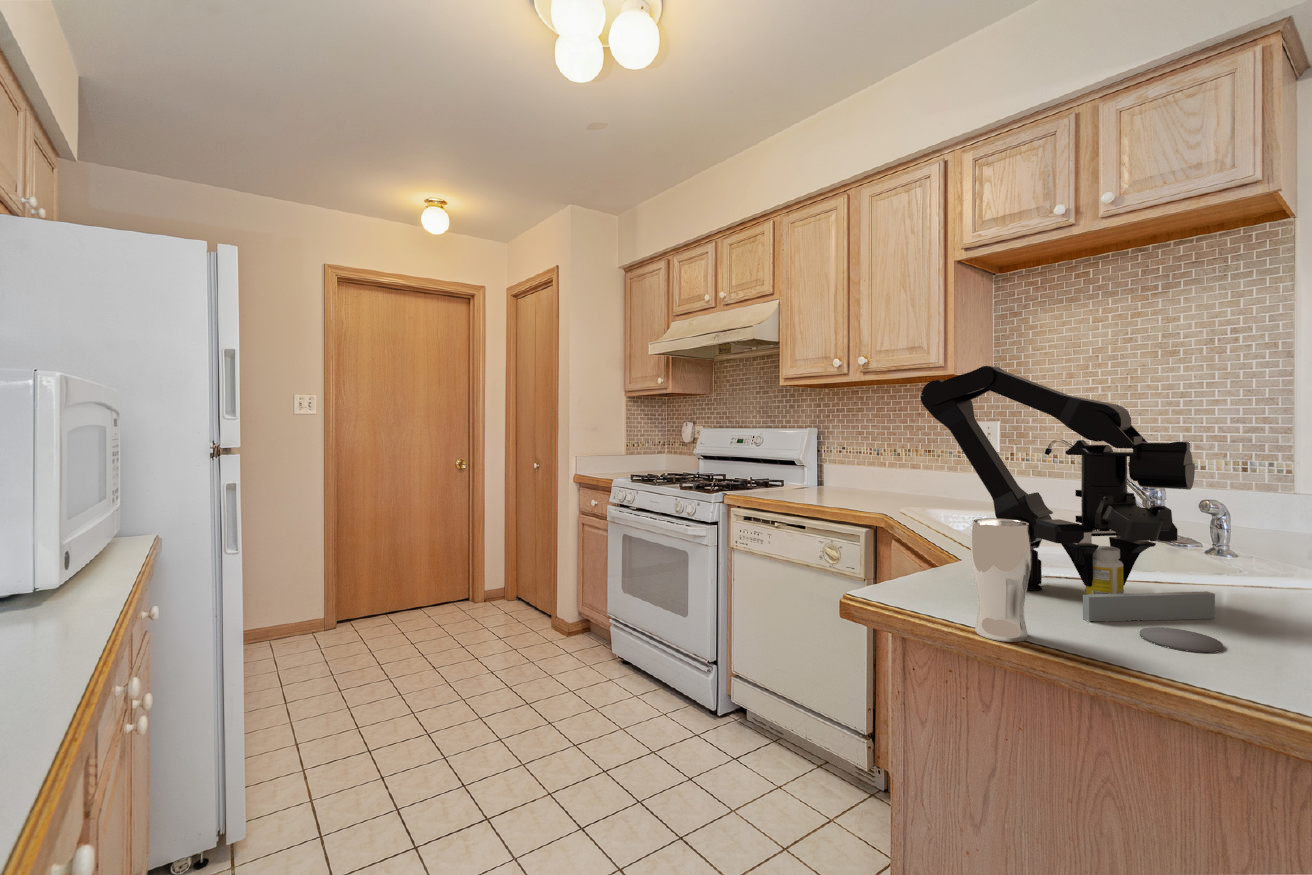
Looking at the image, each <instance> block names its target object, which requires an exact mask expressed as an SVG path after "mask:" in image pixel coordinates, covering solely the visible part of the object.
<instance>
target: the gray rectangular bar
mask: <svg viewBox="0 0 1312 875" xmlns="http://www.w3.org/2000/svg"><path fill="white" fill-rule="evenodd" d="M1215 610H1216V593H1213V592H1210V591H1177V592H1176V591H1173V592H1166V591H1165V592H1136V593H1135V592H1133V593H1124V594H1090V595H1086V594H1082V620H1084V621H1086V620H1088V621H1105V622H1131V620H1137V622H1138V621H1140V620H1142V621H1171V620H1174V621H1175V620H1207V619H1208V620H1210V619H1213V620H1214V619H1216V611H1215ZM1126 620H1128V621H1126ZM1088 621H1087V622H1088Z"/></svg>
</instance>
